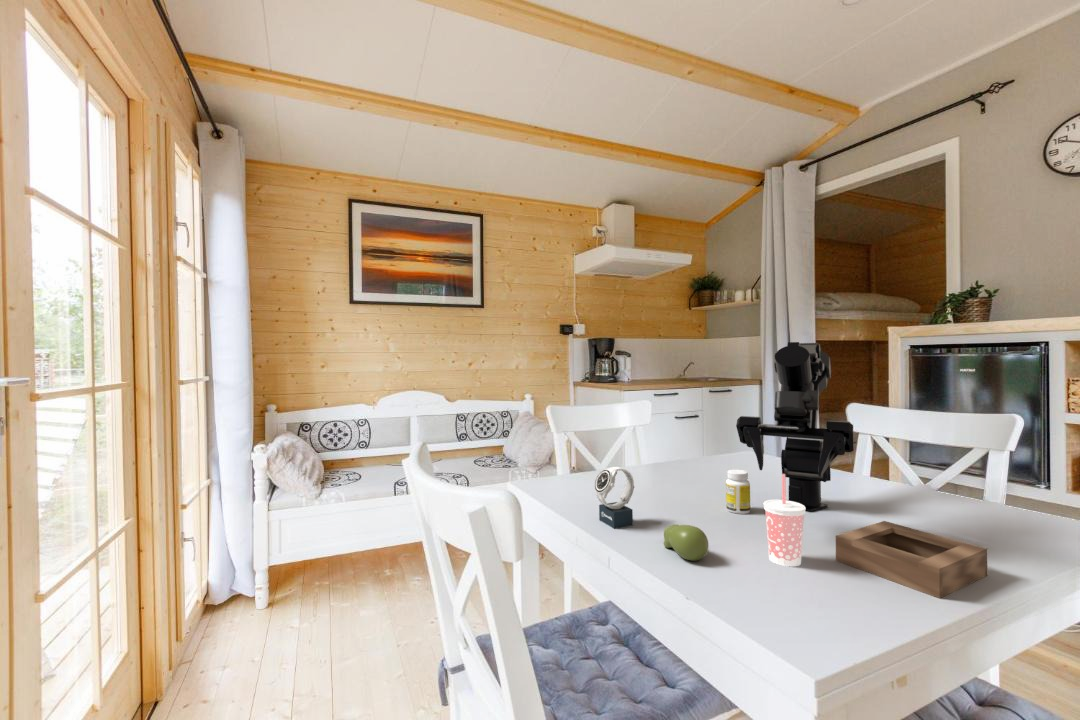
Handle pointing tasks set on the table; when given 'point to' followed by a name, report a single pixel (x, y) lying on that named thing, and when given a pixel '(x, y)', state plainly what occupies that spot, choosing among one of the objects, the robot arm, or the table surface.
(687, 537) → the pear
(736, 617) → the table surface
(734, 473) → the supplement bottle
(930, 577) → the walnut box
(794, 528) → the beverage cup
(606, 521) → the watch
